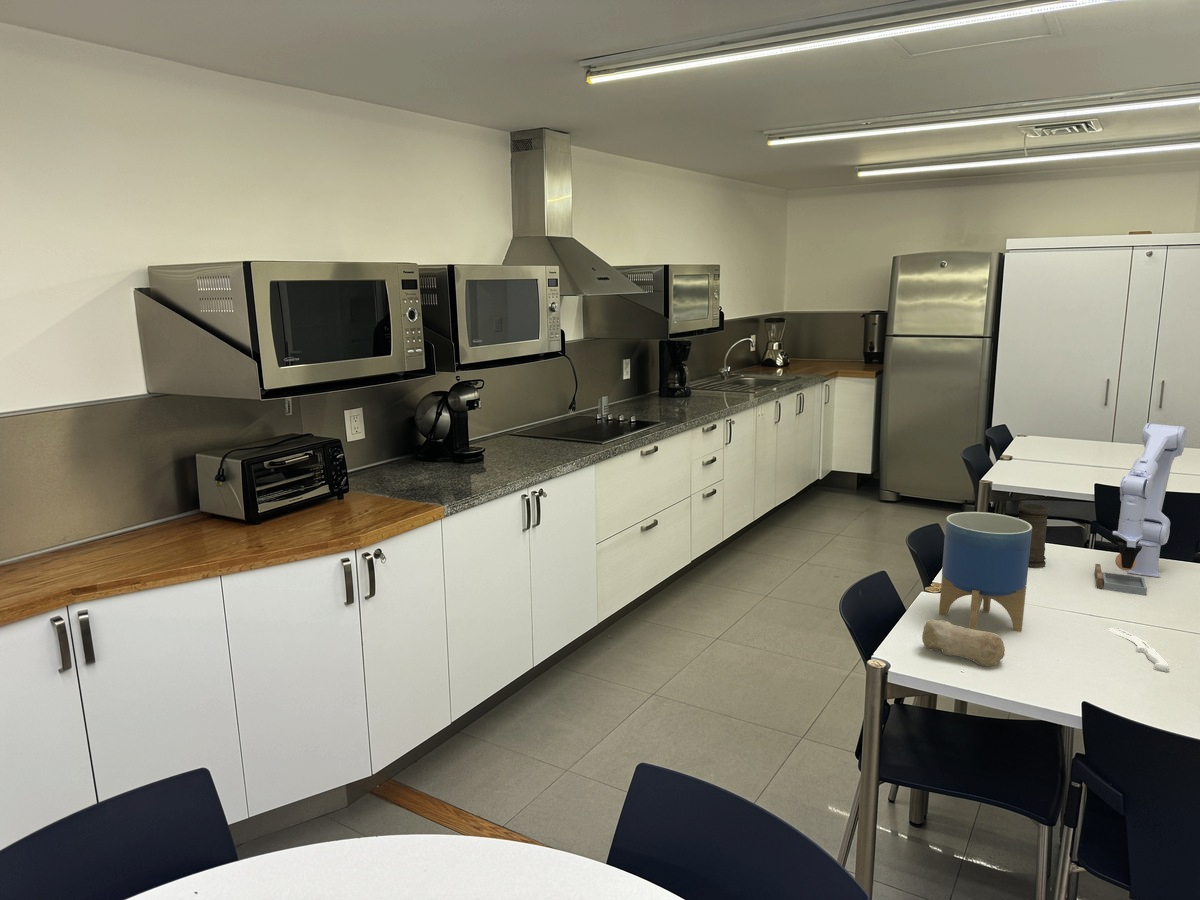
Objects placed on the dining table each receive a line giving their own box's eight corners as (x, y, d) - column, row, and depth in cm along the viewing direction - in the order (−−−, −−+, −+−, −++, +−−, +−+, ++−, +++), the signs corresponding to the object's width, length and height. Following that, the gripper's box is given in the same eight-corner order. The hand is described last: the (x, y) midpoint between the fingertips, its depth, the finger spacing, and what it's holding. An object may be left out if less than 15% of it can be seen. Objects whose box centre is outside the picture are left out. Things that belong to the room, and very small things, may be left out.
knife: (1093, 615, 209) (1127, 618, 207) (1092, 621, 210) (1127, 624, 207) (1131, 662, 181) (1172, 666, 179) (1130, 669, 181) (1171, 673, 179)
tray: (1101, 578, 237) (1102, 571, 237) (1142, 584, 233) (1143, 577, 232) (1103, 589, 229) (1104, 582, 228) (1146, 595, 224) (1147, 588, 224)
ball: (1113, 566, 233) (1115, 549, 232) (1134, 569, 230) (1136, 552, 230) (1114, 571, 229) (1116, 554, 228) (1135, 574, 226) (1137, 556, 225)
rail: (1094, 573, 241) (1095, 563, 241) (1099, 573, 241) (1100, 564, 240) (1096, 588, 229) (1098, 578, 229) (1101, 589, 229) (1103, 579, 228)
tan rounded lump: (930, 626, 197) (924, 606, 190) (1009, 642, 187) (1006, 621, 180) (922, 659, 193) (916, 639, 186) (1002, 676, 183) (999, 656, 176)
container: (1050, 568, 246) (1056, 510, 242) (1020, 568, 246) (1026, 510, 243) (1035, 558, 255) (1041, 502, 251) (1006, 558, 255) (1011, 502, 251)
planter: (948, 602, 220) (956, 507, 215) (1027, 618, 209) (1037, 519, 204) (930, 626, 204) (937, 525, 199) (1014, 645, 193) (1025, 538, 188)
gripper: (1113, 510, 235) (1107, 555, 237) (1116, 523, 222) (1110, 570, 225) (1142, 513, 231) (1136, 559, 234) (1147, 526, 219) (1141, 574, 222)
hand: (1125, 565), depth 229 cm, fingers closed on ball, 5 cm apart
